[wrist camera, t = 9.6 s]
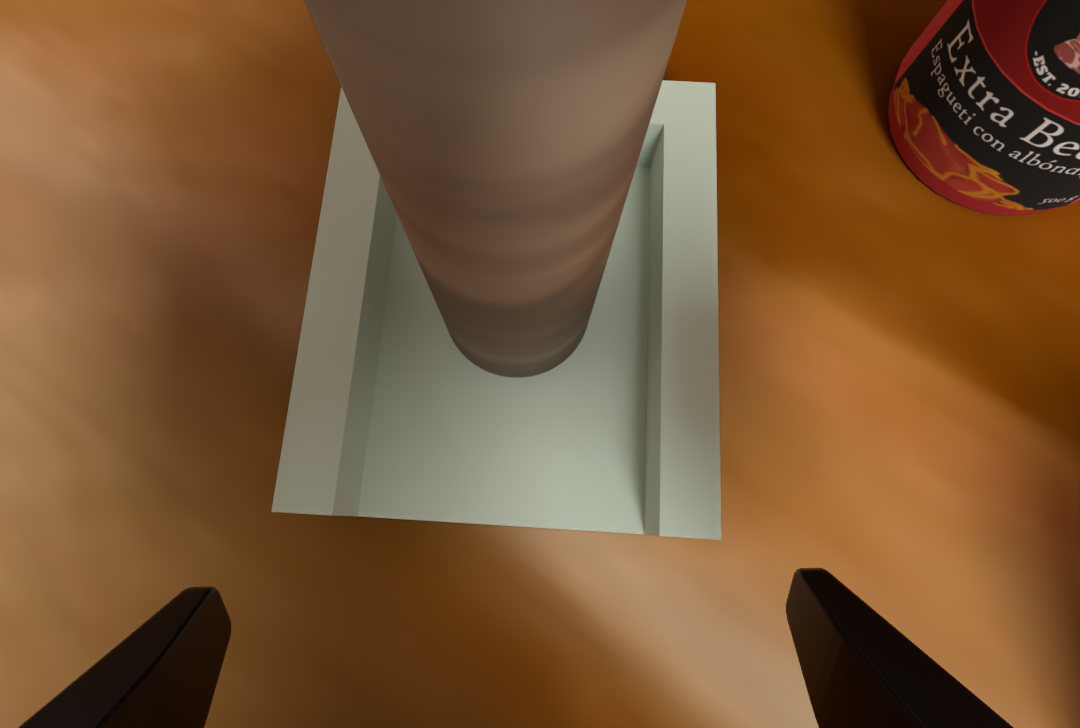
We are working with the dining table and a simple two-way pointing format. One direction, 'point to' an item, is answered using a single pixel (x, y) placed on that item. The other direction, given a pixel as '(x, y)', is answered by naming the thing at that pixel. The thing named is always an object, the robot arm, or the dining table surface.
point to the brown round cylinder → (505, 150)
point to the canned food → (994, 105)
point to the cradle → (516, 403)
